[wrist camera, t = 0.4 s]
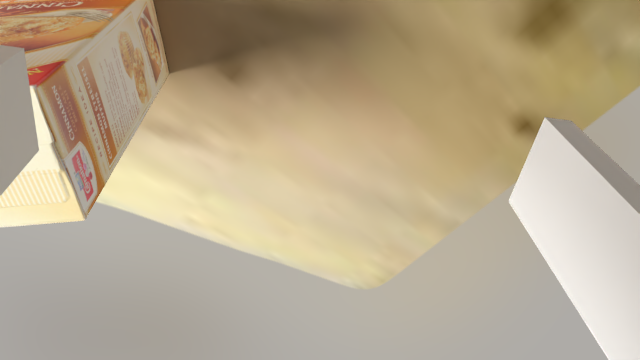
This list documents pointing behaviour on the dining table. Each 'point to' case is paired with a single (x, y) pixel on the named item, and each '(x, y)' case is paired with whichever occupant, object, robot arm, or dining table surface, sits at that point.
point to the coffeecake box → (79, 98)
